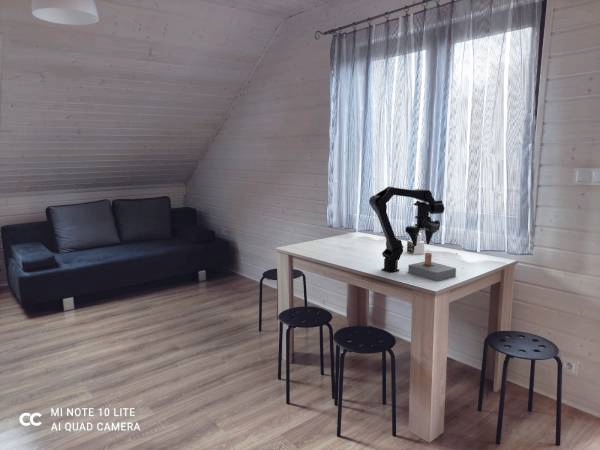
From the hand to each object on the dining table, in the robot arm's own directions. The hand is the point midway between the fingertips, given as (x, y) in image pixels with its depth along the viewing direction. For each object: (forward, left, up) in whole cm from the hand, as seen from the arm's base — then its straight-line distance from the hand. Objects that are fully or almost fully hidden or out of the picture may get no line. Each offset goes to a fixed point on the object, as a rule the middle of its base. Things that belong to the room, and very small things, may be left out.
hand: (421, 245), depth 226 cm
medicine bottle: (+24, +24, -12) cm, 36 cm away
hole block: (-5, -11, -12) cm, 17 cm away
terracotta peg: (-5, -8, -12) cm, 15 cm away
